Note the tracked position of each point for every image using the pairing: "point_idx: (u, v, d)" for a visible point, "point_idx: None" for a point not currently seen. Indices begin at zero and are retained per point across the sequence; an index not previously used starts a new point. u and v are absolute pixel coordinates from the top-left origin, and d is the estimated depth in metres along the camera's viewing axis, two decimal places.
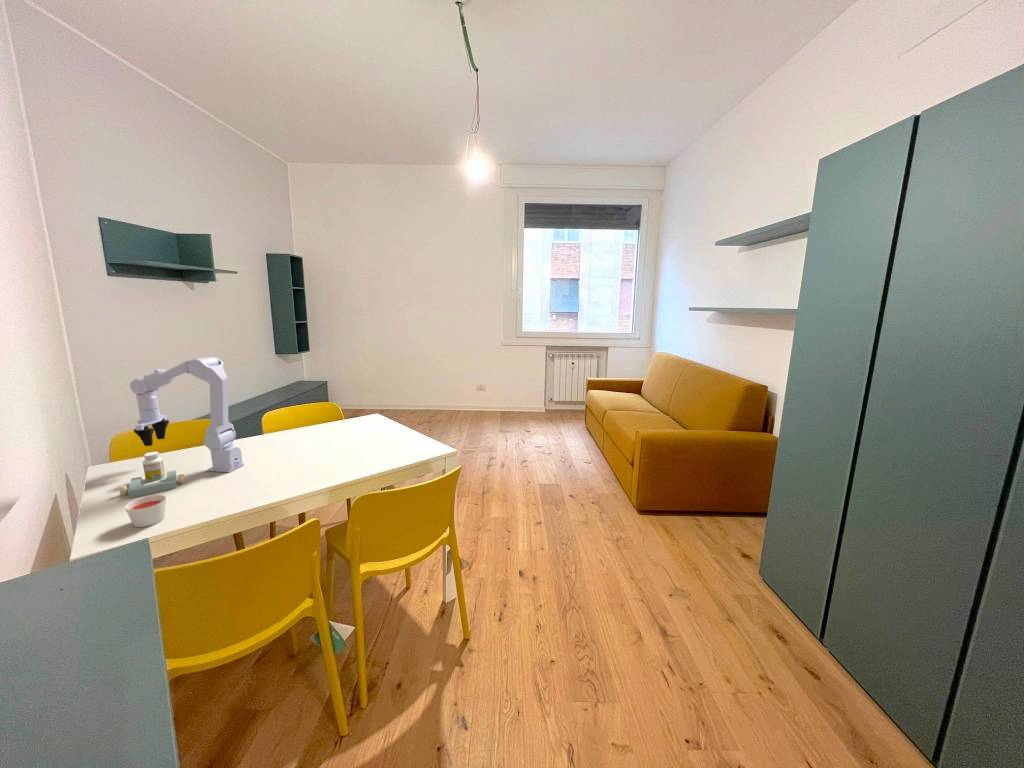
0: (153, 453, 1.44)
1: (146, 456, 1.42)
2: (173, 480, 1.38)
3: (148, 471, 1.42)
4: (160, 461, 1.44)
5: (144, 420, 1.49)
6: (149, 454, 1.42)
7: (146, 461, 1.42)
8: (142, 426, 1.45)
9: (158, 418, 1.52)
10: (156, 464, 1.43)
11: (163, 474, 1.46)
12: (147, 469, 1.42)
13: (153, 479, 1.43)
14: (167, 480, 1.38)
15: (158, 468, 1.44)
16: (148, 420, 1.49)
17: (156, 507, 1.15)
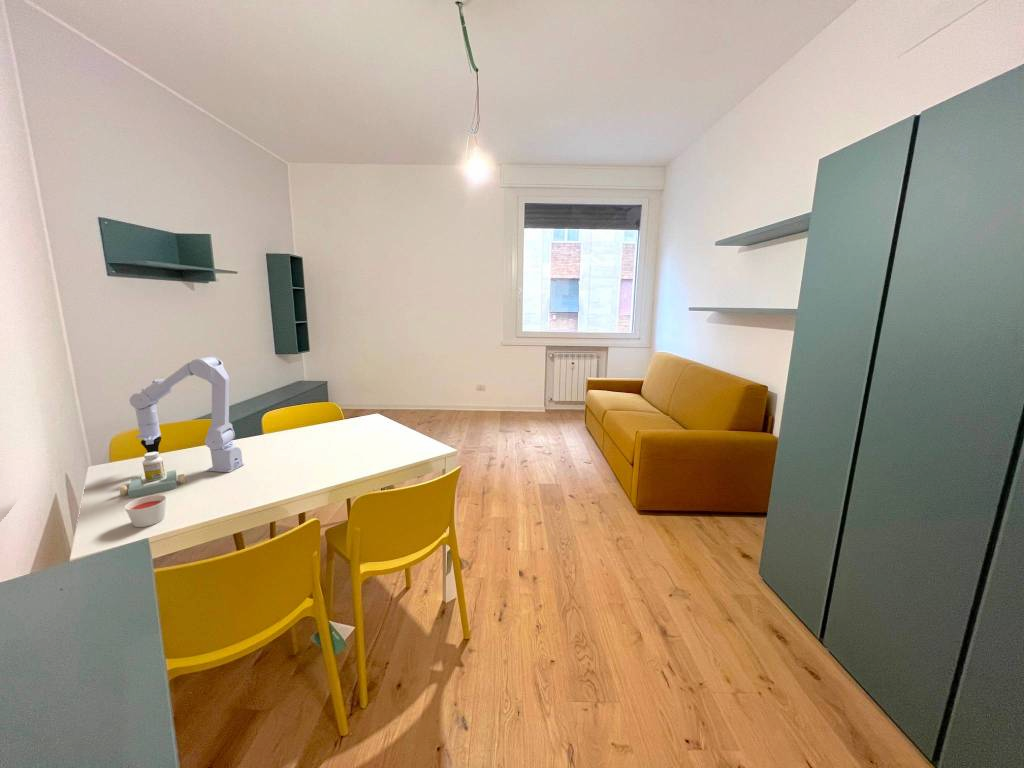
0: (153, 453, 1.44)
1: (146, 456, 1.42)
2: (173, 480, 1.38)
3: (148, 471, 1.42)
4: (160, 461, 1.44)
5: (147, 435, 1.46)
6: (149, 454, 1.42)
7: (146, 461, 1.42)
8: (152, 440, 1.44)
9: (159, 431, 1.50)
10: (156, 464, 1.43)
11: (163, 474, 1.46)
12: (147, 469, 1.42)
13: (153, 479, 1.43)
14: (167, 480, 1.38)
15: (158, 468, 1.44)
16: (152, 434, 1.47)
17: (156, 507, 1.15)
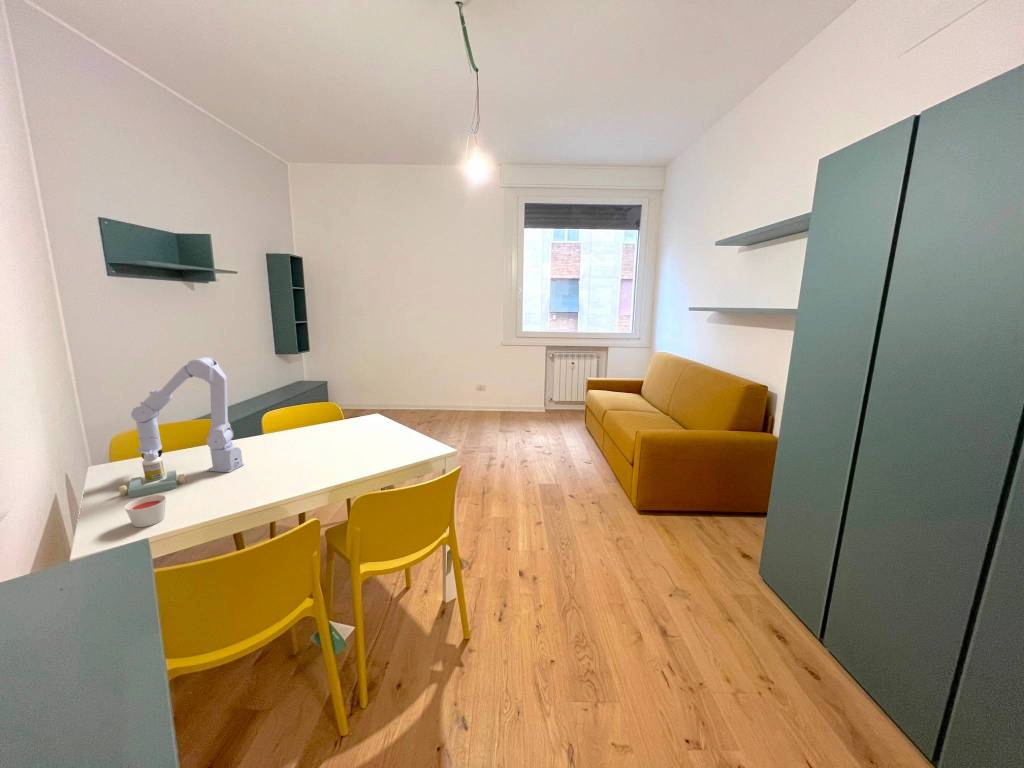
0: None
1: (145, 457, 1.41)
2: (173, 480, 1.38)
3: (148, 471, 1.42)
4: (160, 461, 1.44)
5: (148, 448, 1.44)
6: None
7: (145, 461, 1.41)
8: (153, 454, 1.42)
9: (160, 445, 1.47)
10: (156, 465, 1.43)
11: (163, 474, 1.46)
12: (147, 470, 1.42)
13: (153, 479, 1.43)
14: (167, 480, 1.38)
15: (158, 469, 1.43)
16: (153, 448, 1.44)
17: (156, 507, 1.15)
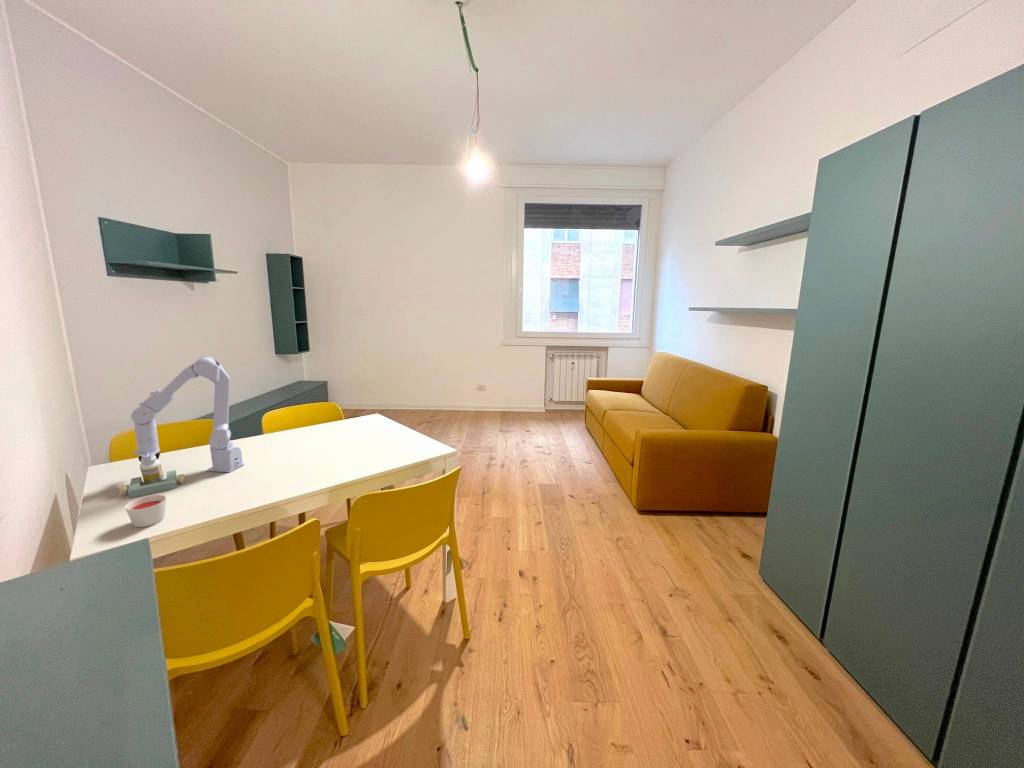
0: None
1: (143, 461, 1.37)
2: (173, 480, 1.38)
3: (147, 475, 1.39)
4: (158, 465, 1.41)
5: (145, 451, 1.40)
6: None
7: (144, 466, 1.38)
8: (150, 457, 1.38)
9: (158, 447, 1.44)
10: (154, 469, 1.39)
11: (162, 476, 1.43)
12: (145, 474, 1.39)
13: (152, 482, 1.41)
14: (167, 480, 1.38)
15: (156, 472, 1.41)
16: (150, 450, 1.41)
17: (156, 507, 1.15)
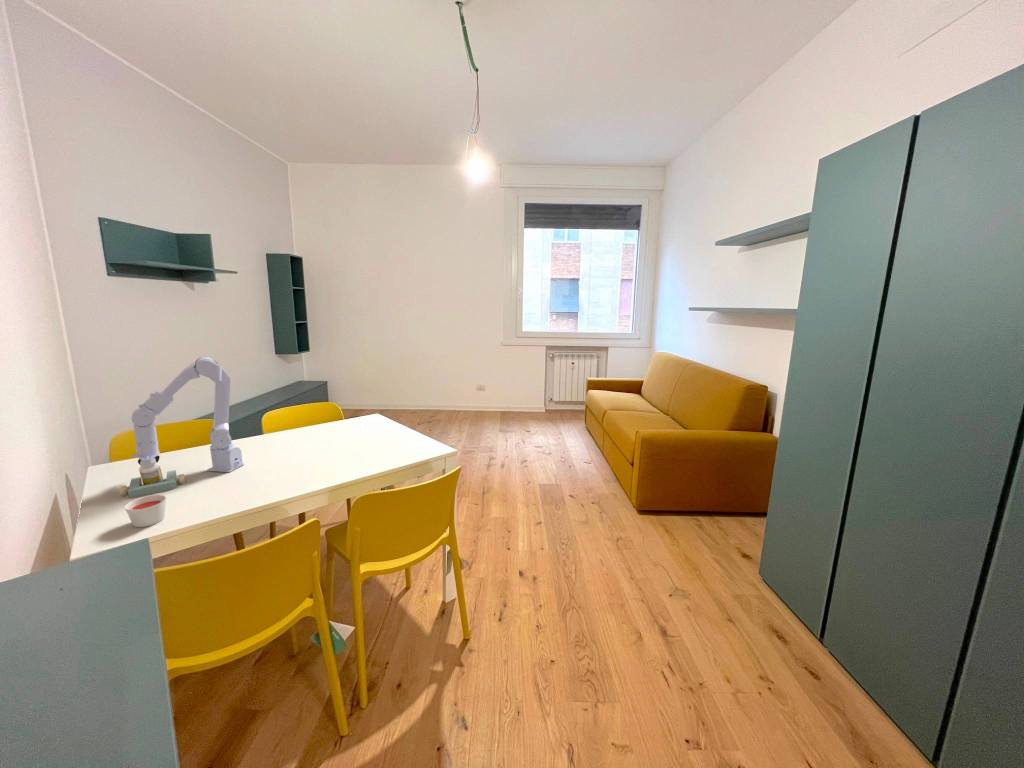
0: None
1: (143, 465, 1.35)
2: (173, 480, 1.38)
3: (146, 479, 1.36)
4: (158, 468, 1.38)
5: (145, 454, 1.37)
6: None
7: (143, 469, 1.35)
8: (150, 460, 1.35)
9: (158, 450, 1.41)
10: (154, 472, 1.37)
11: (162, 479, 1.41)
12: (145, 477, 1.36)
13: None
14: (167, 480, 1.38)
15: (156, 475, 1.38)
16: (150, 453, 1.38)
17: (156, 507, 1.15)
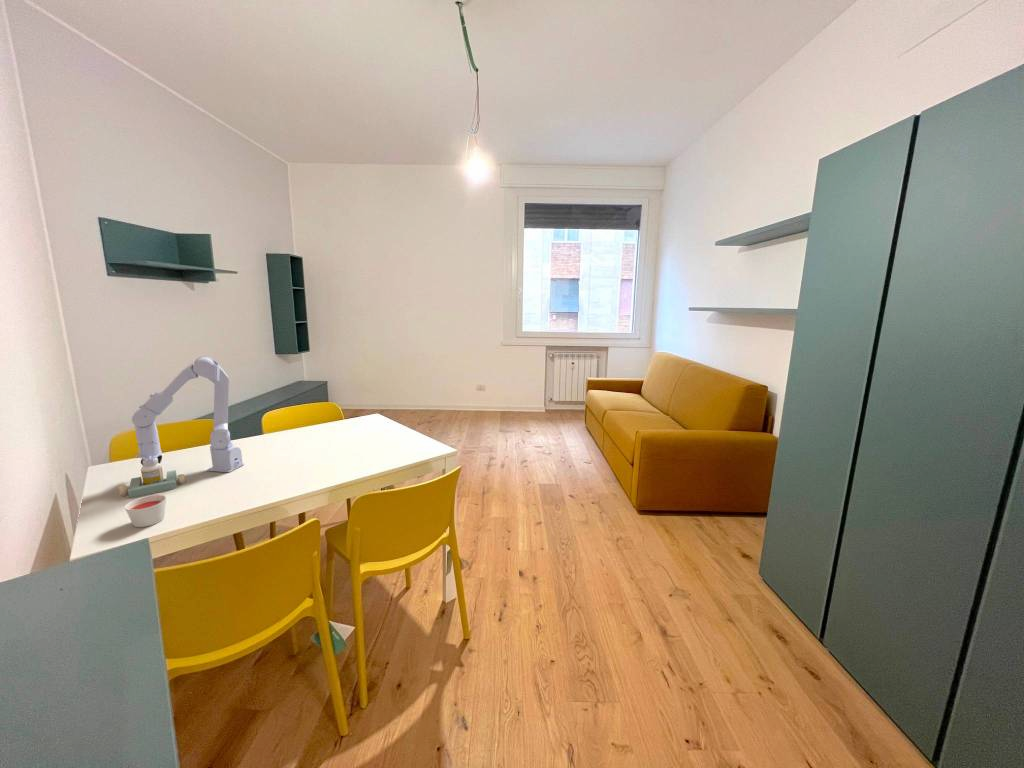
0: None
1: (145, 462, 1.36)
2: (173, 480, 1.38)
3: (147, 478, 1.36)
4: (159, 467, 1.39)
5: (148, 454, 1.39)
6: None
7: (145, 468, 1.36)
8: (153, 460, 1.37)
9: (160, 450, 1.43)
10: (155, 471, 1.37)
11: (162, 481, 1.40)
12: (146, 476, 1.36)
13: None
14: (167, 480, 1.38)
15: (157, 475, 1.38)
16: (152, 453, 1.40)
17: (156, 507, 1.15)
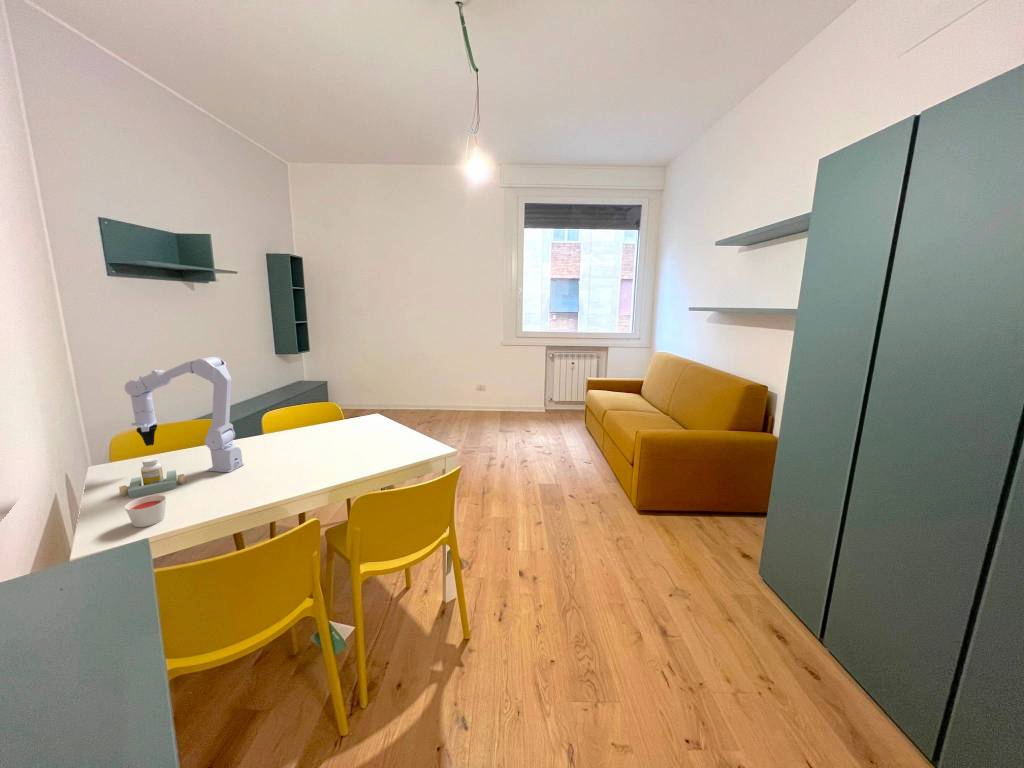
0: (152, 459, 1.38)
1: (144, 462, 1.36)
2: (173, 480, 1.38)
3: (147, 478, 1.37)
4: (159, 467, 1.39)
5: (143, 422, 1.45)
6: (148, 460, 1.37)
7: (144, 468, 1.36)
8: (148, 427, 1.43)
9: (155, 419, 1.49)
10: (155, 471, 1.38)
11: (162, 481, 1.40)
12: (146, 476, 1.36)
13: None
14: (167, 480, 1.38)
15: (157, 475, 1.38)
16: (147, 422, 1.46)
17: (156, 507, 1.15)
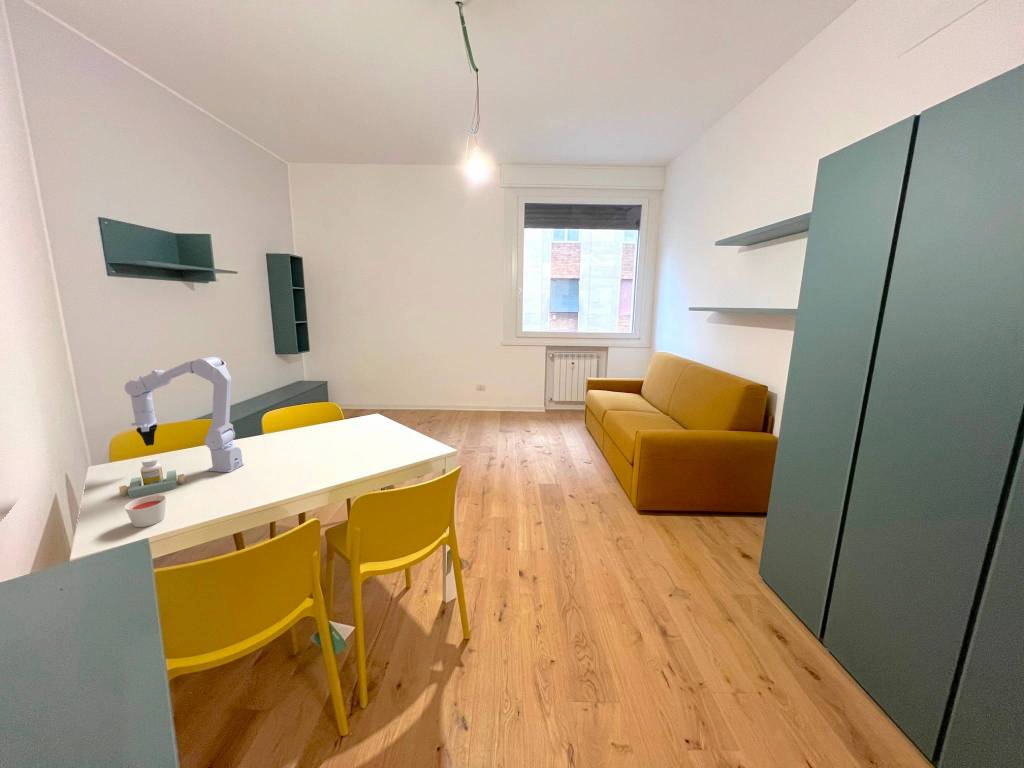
0: (151, 459, 1.38)
1: (144, 463, 1.36)
2: (173, 480, 1.38)
3: (147, 478, 1.36)
4: (159, 467, 1.39)
5: (143, 422, 1.45)
6: (147, 461, 1.37)
7: (144, 468, 1.36)
8: (148, 427, 1.43)
9: (155, 419, 1.49)
10: (155, 471, 1.37)
11: (162, 481, 1.40)
12: (145, 476, 1.36)
13: None
14: (167, 480, 1.38)
15: (157, 475, 1.38)
16: (147, 422, 1.46)
17: (156, 507, 1.15)
